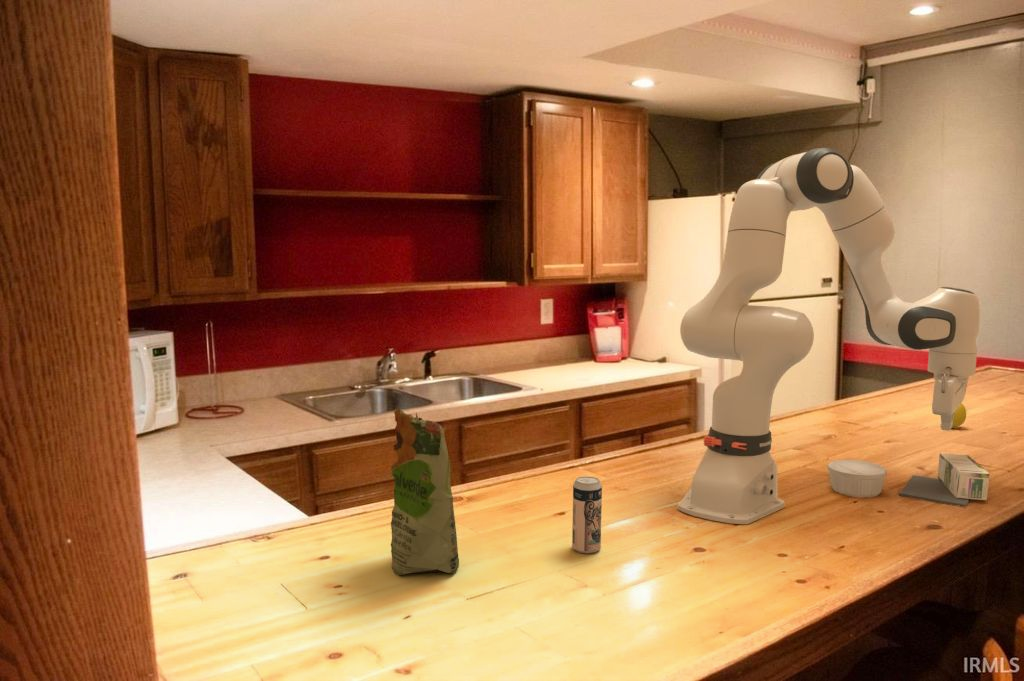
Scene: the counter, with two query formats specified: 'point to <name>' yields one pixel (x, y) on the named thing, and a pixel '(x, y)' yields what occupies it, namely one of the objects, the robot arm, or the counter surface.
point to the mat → (930, 491)
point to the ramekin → (856, 478)
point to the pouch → (422, 499)
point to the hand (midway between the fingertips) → (946, 429)
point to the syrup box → (963, 476)
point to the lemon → (959, 416)
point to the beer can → (587, 515)
